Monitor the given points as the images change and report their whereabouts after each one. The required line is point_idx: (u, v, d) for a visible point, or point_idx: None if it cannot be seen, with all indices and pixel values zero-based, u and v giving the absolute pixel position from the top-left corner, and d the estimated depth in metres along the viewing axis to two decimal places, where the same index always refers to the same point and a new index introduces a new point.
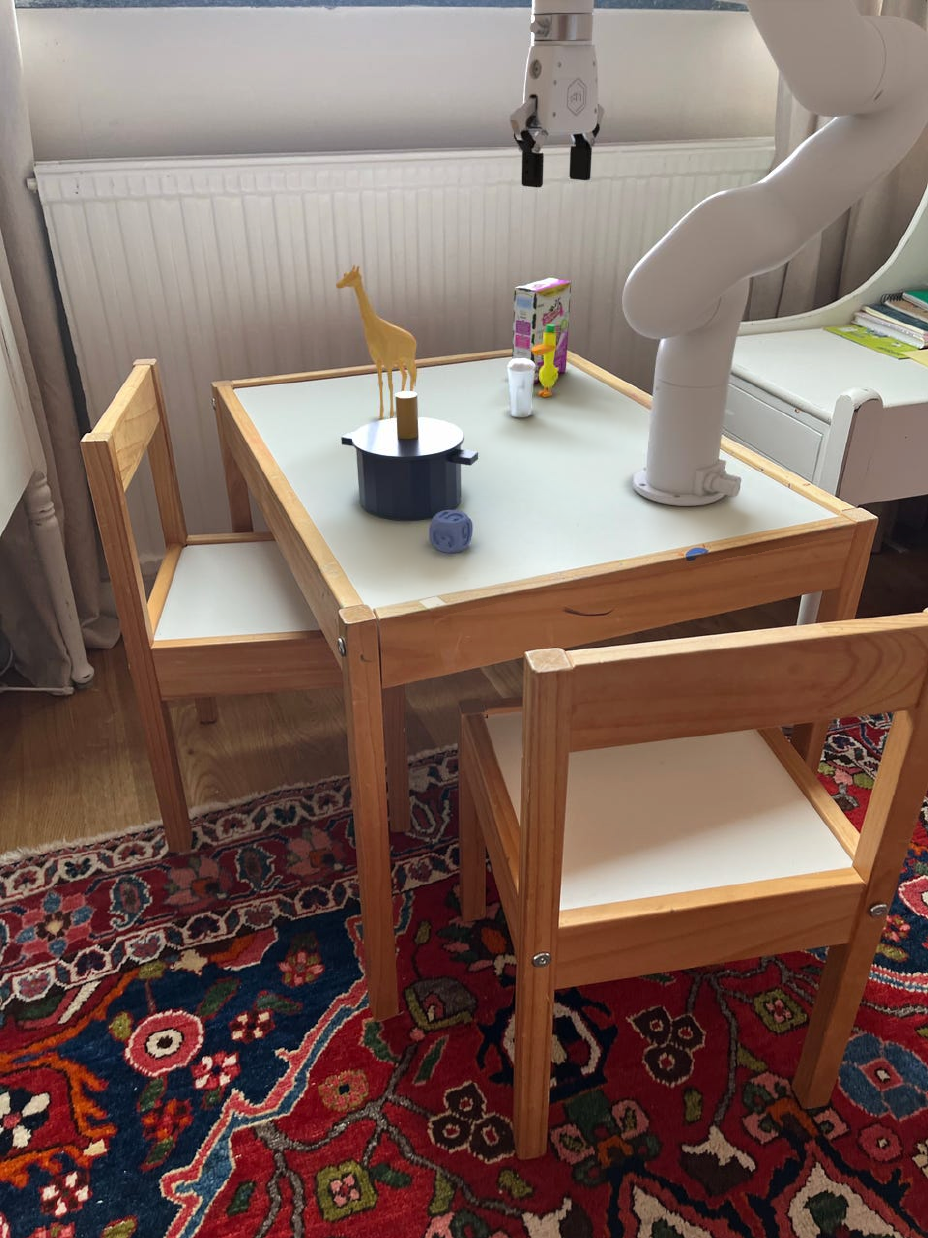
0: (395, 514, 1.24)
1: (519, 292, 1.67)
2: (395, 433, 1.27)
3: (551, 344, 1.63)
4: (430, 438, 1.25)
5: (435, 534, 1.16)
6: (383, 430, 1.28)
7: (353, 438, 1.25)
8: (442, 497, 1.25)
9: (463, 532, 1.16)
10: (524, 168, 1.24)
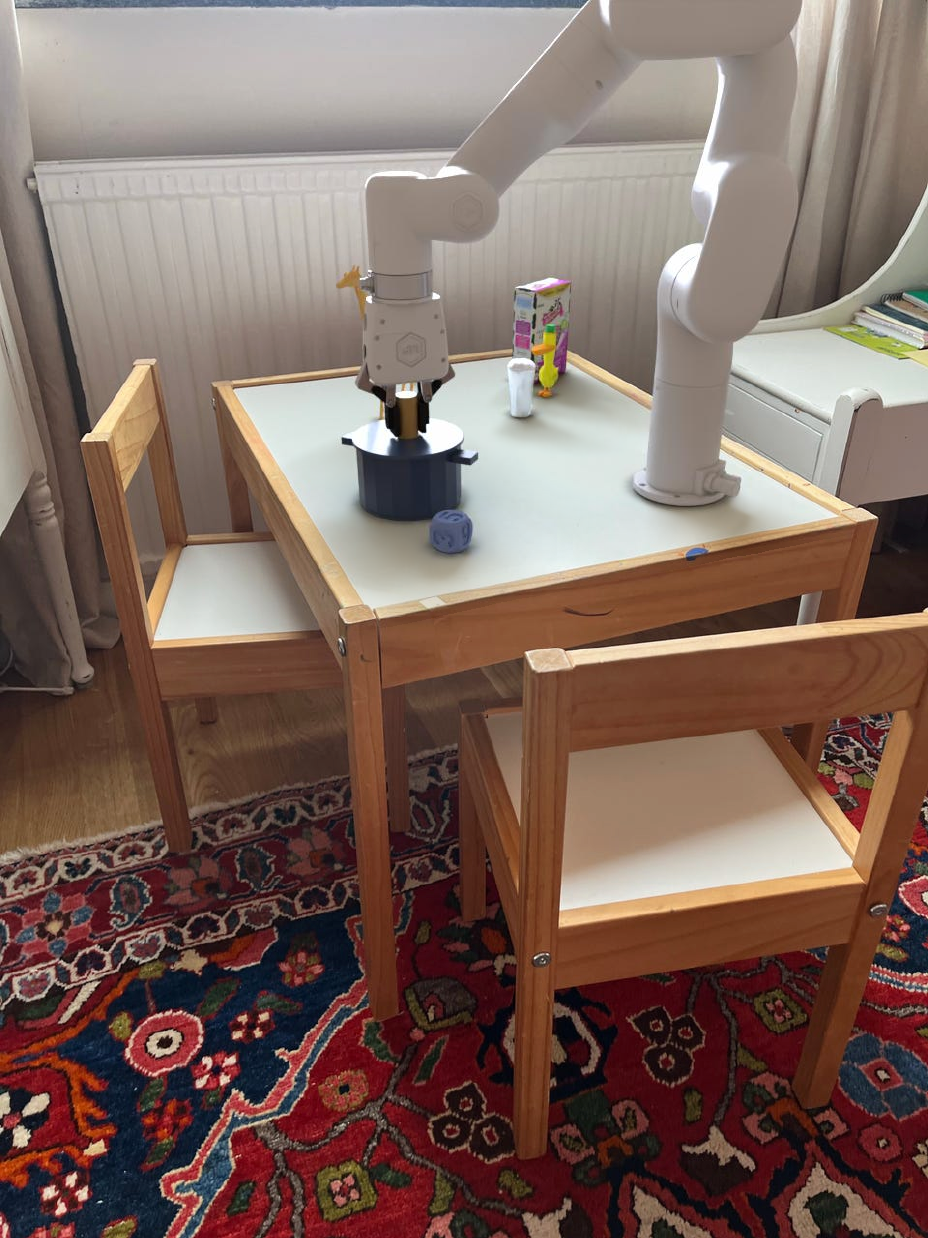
0: (395, 514, 1.24)
1: (519, 292, 1.67)
2: None
3: (551, 344, 1.63)
4: (430, 438, 1.25)
5: (435, 534, 1.16)
6: (383, 430, 1.28)
7: (353, 438, 1.25)
8: (442, 497, 1.25)
9: (463, 532, 1.16)
10: (385, 417, 1.24)
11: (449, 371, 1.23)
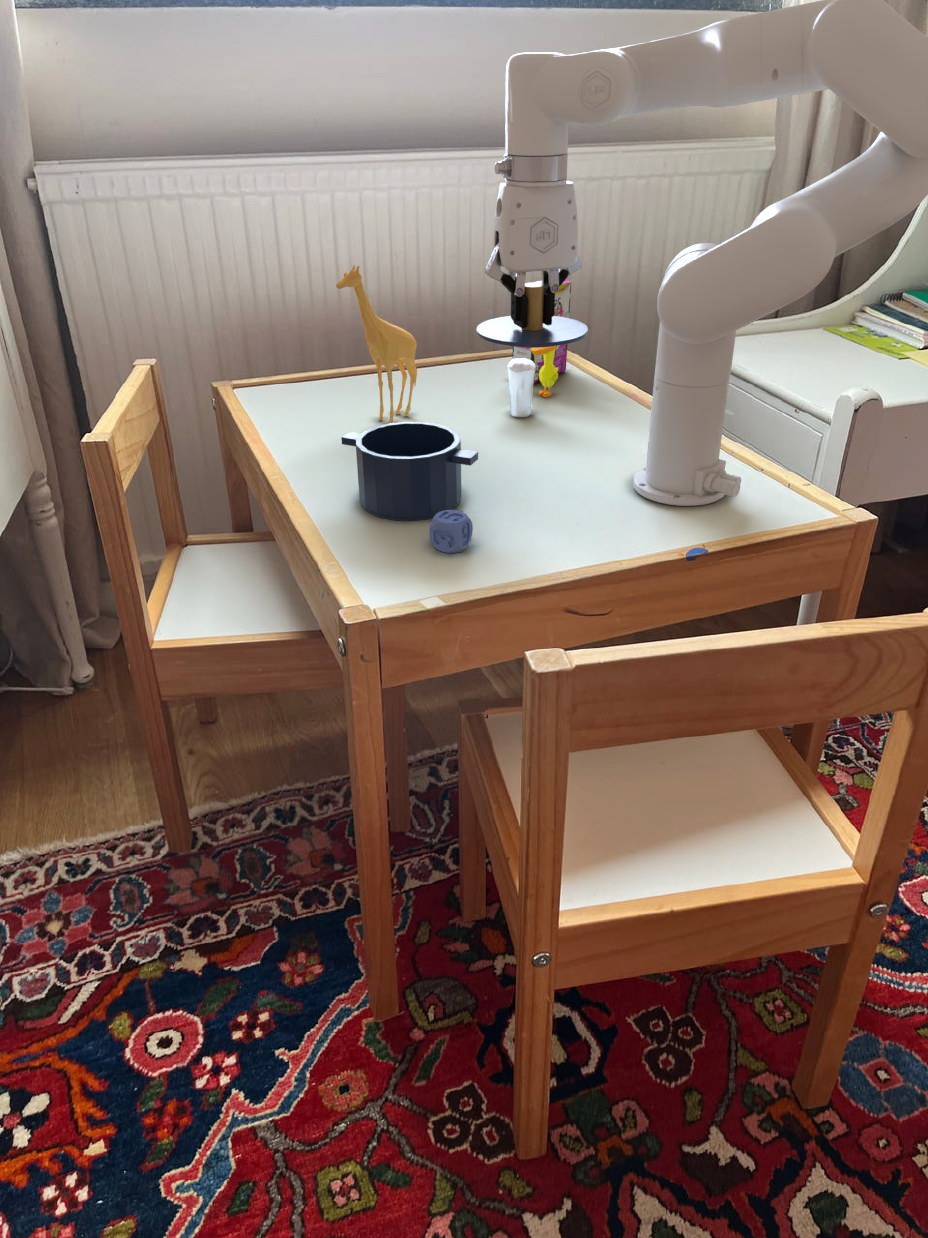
0: (395, 514, 1.24)
1: None
2: (518, 326, 1.27)
3: None
4: (555, 329, 1.26)
5: (435, 534, 1.16)
6: (506, 324, 1.29)
7: (478, 330, 1.26)
8: (442, 497, 1.25)
9: (463, 532, 1.16)
10: (511, 309, 1.25)
11: (576, 261, 1.24)
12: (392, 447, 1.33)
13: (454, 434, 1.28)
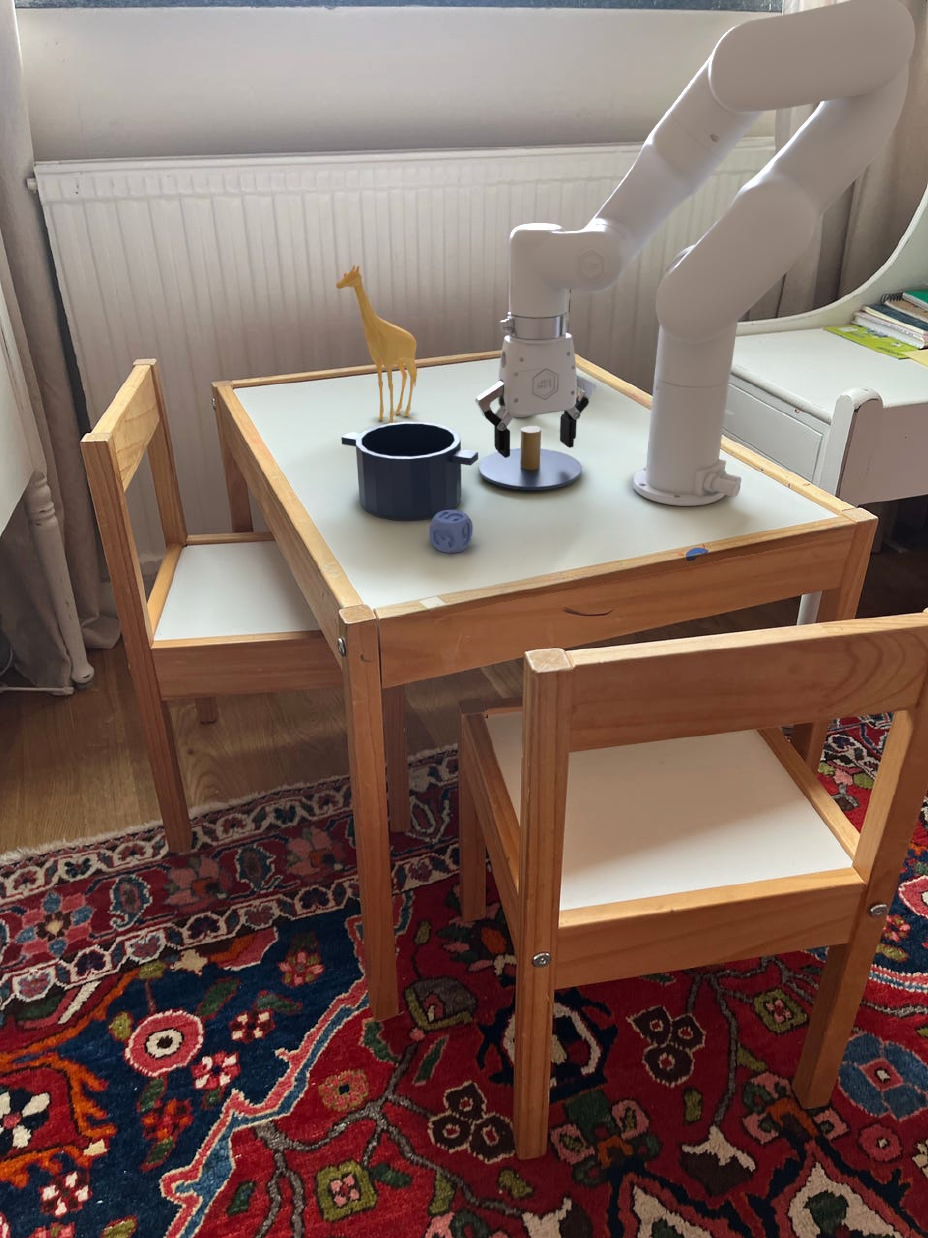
0: (395, 514, 1.24)
1: None
2: (517, 464, 1.38)
3: None
4: (551, 469, 1.36)
5: (435, 534, 1.16)
6: (506, 461, 1.39)
7: (480, 469, 1.37)
8: (442, 497, 1.25)
9: (463, 532, 1.16)
10: (495, 439, 1.33)
11: (589, 386, 1.33)
12: (392, 447, 1.33)
13: (454, 434, 1.28)
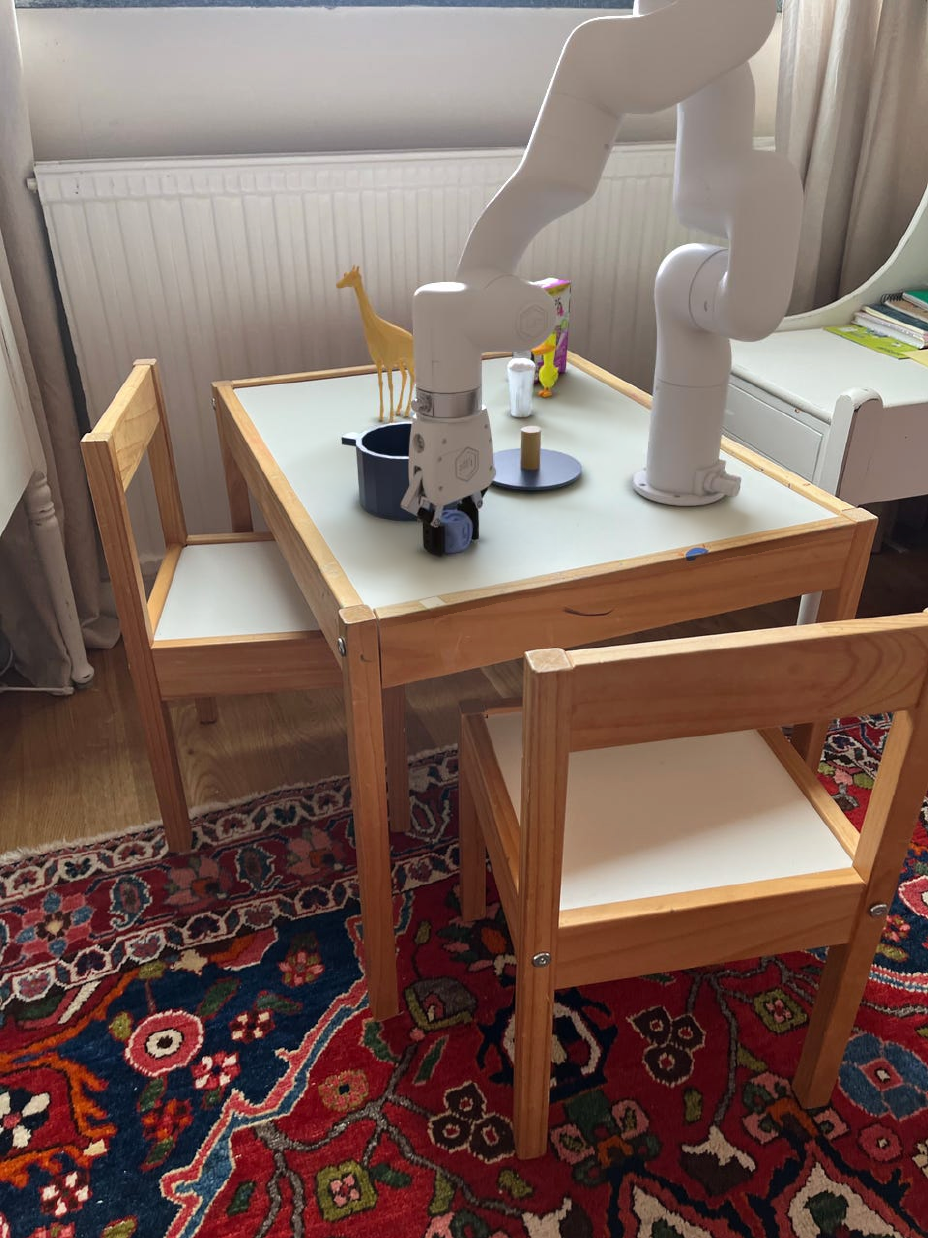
0: (395, 514, 1.24)
1: None
2: (517, 464, 1.38)
3: (551, 344, 1.63)
4: (551, 469, 1.36)
5: None
6: (506, 461, 1.39)
7: None
8: None
9: (463, 532, 1.16)
10: (425, 537, 1.15)
11: None
12: (392, 447, 1.33)
13: None
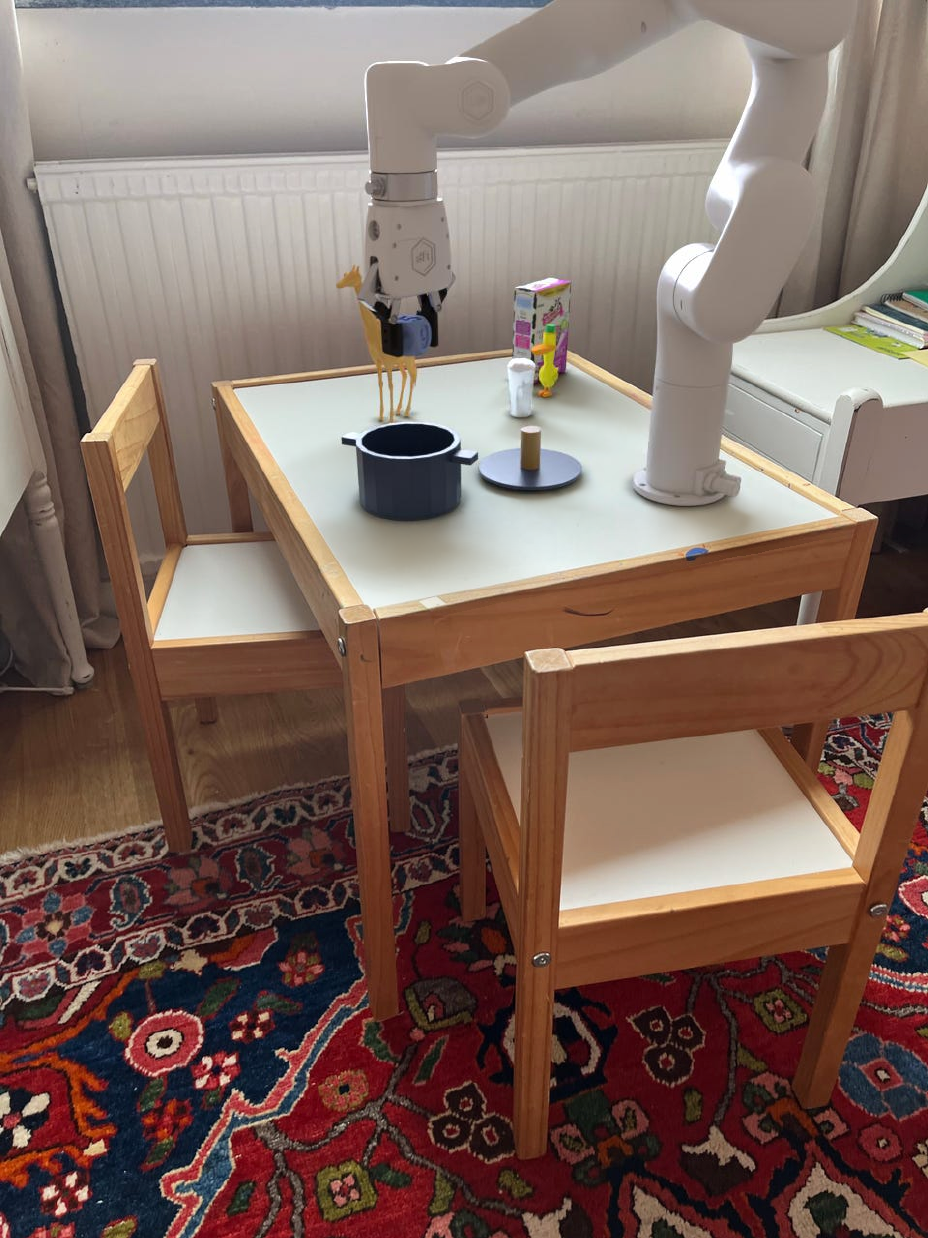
0: (395, 514, 1.24)
1: (519, 292, 1.67)
2: (517, 464, 1.38)
3: (551, 344, 1.63)
4: (551, 469, 1.36)
5: None
6: (506, 461, 1.39)
7: (480, 469, 1.37)
8: (442, 497, 1.25)
9: (422, 334, 1.16)
10: (383, 338, 1.15)
11: None
12: (392, 447, 1.33)
13: (454, 434, 1.28)
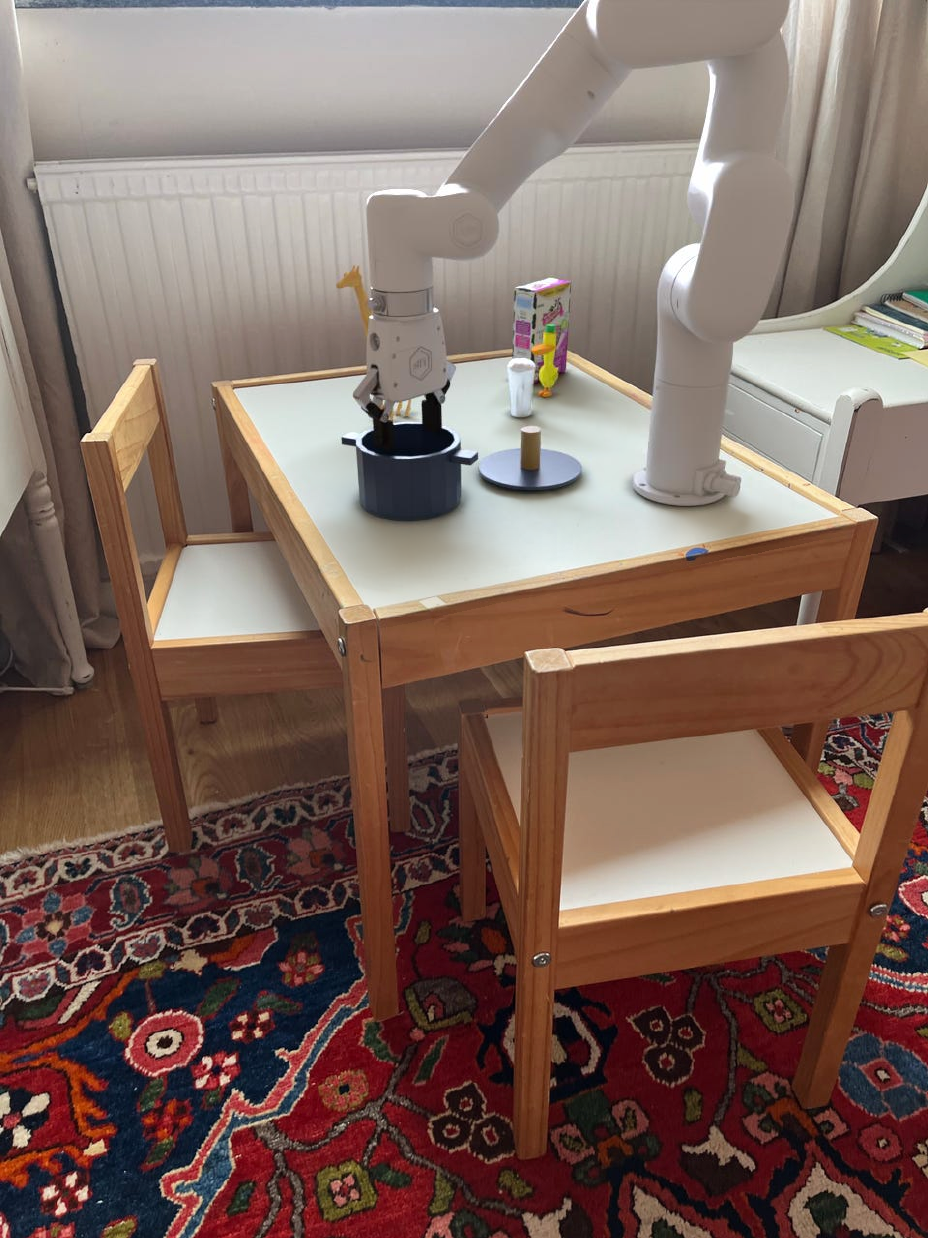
0: (395, 514, 1.24)
1: (519, 292, 1.67)
2: (517, 464, 1.38)
3: (551, 344, 1.63)
4: (551, 469, 1.36)
5: None
6: (506, 461, 1.39)
7: (480, 469, 1.37)
8: (442, 497, 1.25)
9: None
10: (375, 433, 1.22)
11: (450, 367, 1.26)
12: None
13: (454, 434, 1.28)
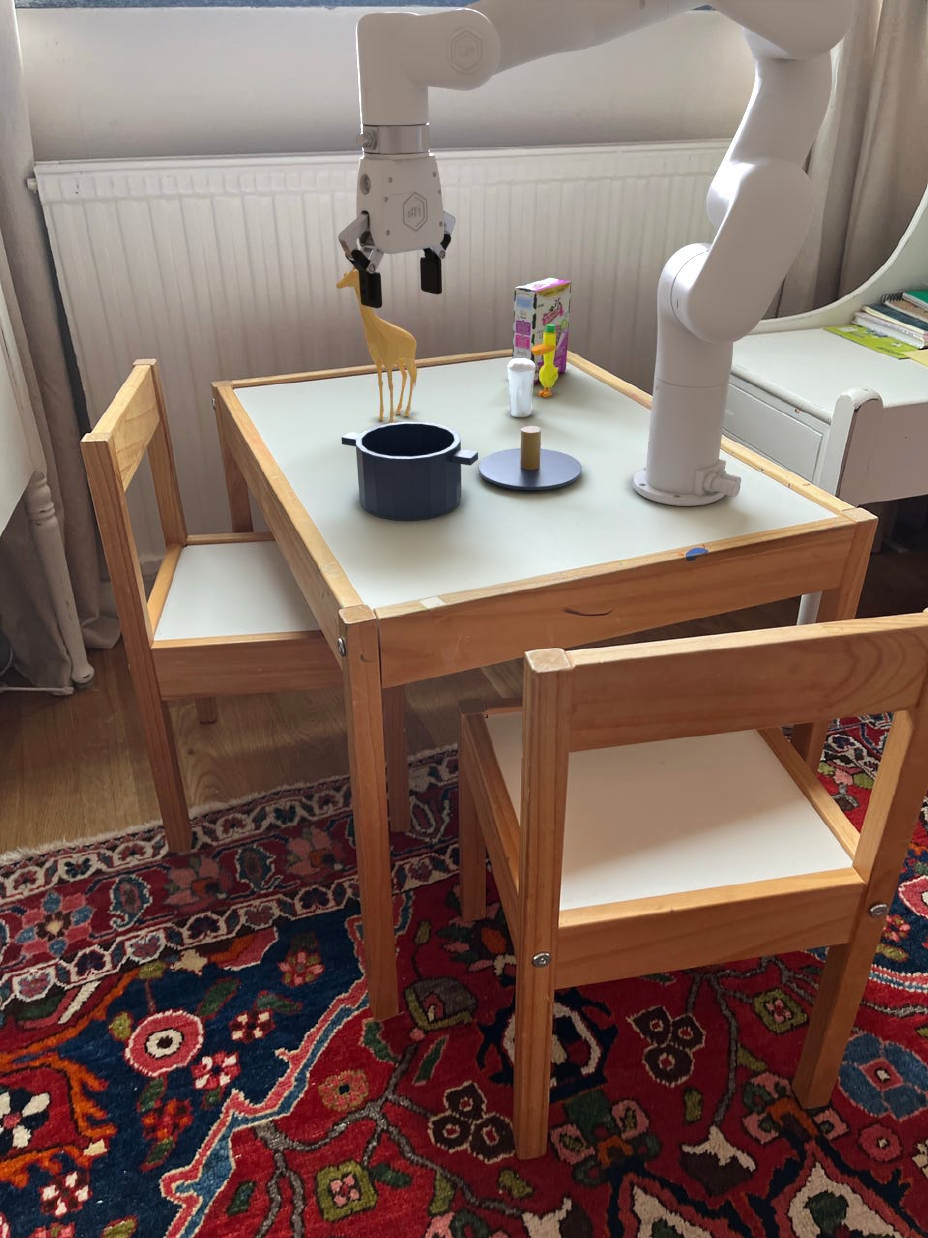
0: (395, 514, 1.24)
1: (519, 292, 1.67)
2: (517, 464, 1.38)
3: (551, 344, 1.63)
4: (551, 469, 1.36)
5: None
6: (506, 461, 1.39)
7: (480, 469, 1.37)
8: (442, 497, 1.25)
9: None
10: (361, 288, 1.13)
11: (449, 219, 1.17)
12: (392, 447, 1.33)
13: (454, 434, 1.28)
